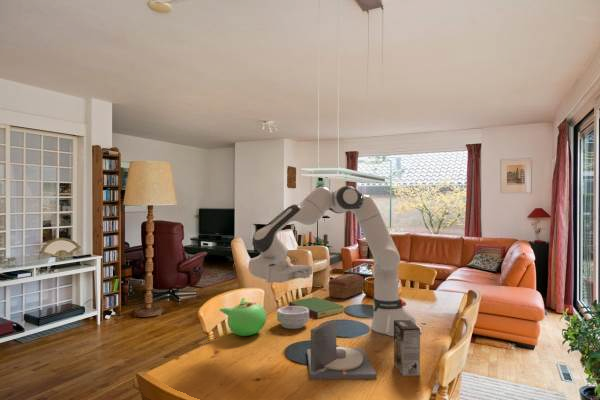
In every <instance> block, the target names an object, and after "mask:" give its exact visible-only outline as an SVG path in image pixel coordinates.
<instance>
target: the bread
mask: <svg viewBox="0 0 600 400" xmlns="http://www.w3.org/2000/svg"><path fill="white" fill-rule="evenodd" d="M363 281H364V282H365V279H364V278H363V277H362V276H361V275H360V274H357V273H345V274H341V275H337V276H336V277H333V278H331V279H329V281H328V295H329V297H331V298H335V299H342V300H343V299H347V298H350V297H353V296H356V295H357V294H358V295H359V294H361V293H362V292H364V290H363Z"/></svg>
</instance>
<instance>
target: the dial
mask: <svg viewBox="0 0 600 400" xmlns="http://www.w3.org/2000/svg"><path fill="white" fill-rule="evenodd" d="M310 349H311V371H312V372H316V371H318V370H319V369H321V368H323V367H324V368H327V369H331V370H339V371H344V370H352V369H355V368H358V367H360V366H361V365H362V363H363V356H362V354H361V353H360V352H358V351H356V350H354V349H351V348H350V347H345V346H337V320H334V319H331V320H330V321H329V320H328V321H327V322H325V323H323V324H321V325H317V326H316V327H314V328H311V329H310Z"/></svg>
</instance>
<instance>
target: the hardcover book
mask: <svg viewBox="0 0 600 400" xmlns="http://www.w3.org/2000/svg"><path fill="white" fill-rule="evenodd" d="M288 306H302V307H306V308H308V309H309V317H312V318H314V319H320V318H324V317H328V316H332V315H333V316H334V315H336V314H340V313H343V312H344V305H342V304H339V303H334V302H332V301H329V300H327V299H323V298H319V297H316V296H311V297H306V298H302V299H297V300H294V301H293V300H292V301H288Z"/></svg>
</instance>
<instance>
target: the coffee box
mask: <svg viewBox="0 0 600 400" xmlns="http://www.w3.org/2000/svg"><path fill="white" fill-rule="evenodd" d="M417 325H418V324H417ZM417 325H415V324H414V323H413V322H412V321H411V320H394V336H393V365H394V366H395V368H396V369H397V371H399V373H400V374H401V376H403V377H409V376H420V375H421V371H420V370H421V333H420V328H421V327H420V326H419V325H418V326H419V327H420V328H419V327H418V326H417Z"/></svg>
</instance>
